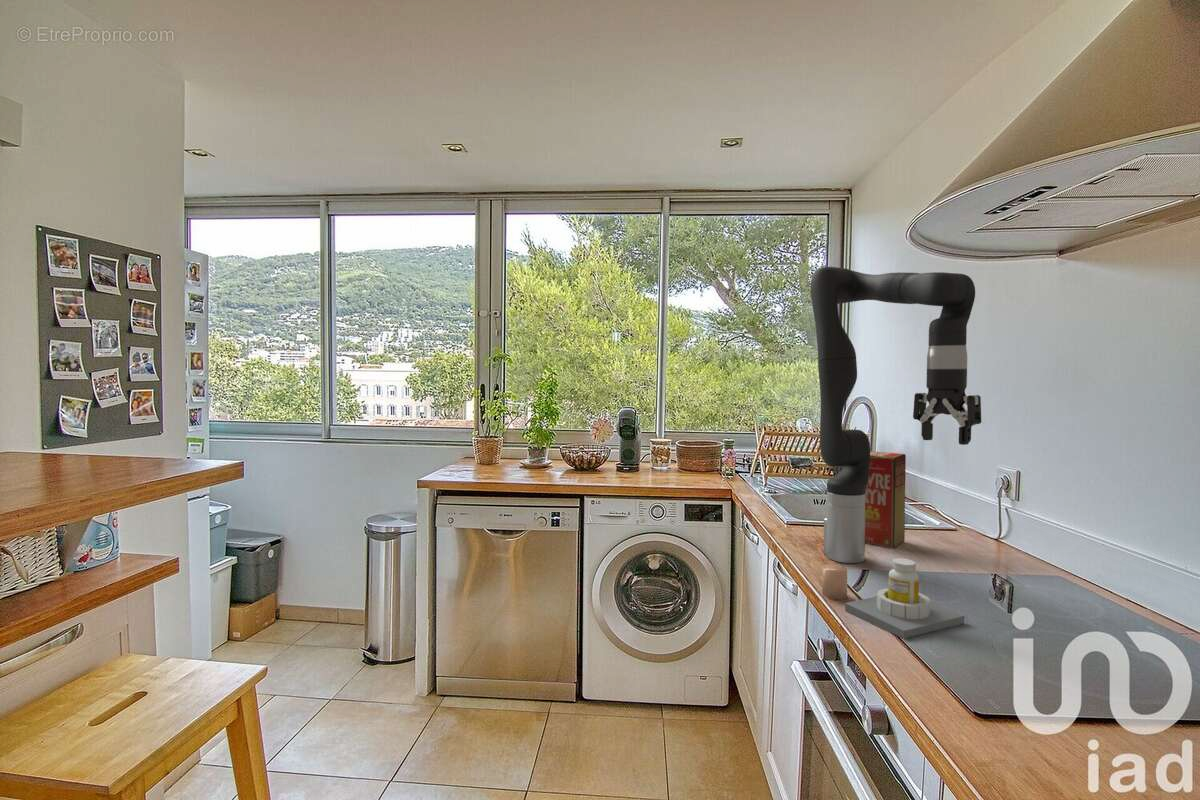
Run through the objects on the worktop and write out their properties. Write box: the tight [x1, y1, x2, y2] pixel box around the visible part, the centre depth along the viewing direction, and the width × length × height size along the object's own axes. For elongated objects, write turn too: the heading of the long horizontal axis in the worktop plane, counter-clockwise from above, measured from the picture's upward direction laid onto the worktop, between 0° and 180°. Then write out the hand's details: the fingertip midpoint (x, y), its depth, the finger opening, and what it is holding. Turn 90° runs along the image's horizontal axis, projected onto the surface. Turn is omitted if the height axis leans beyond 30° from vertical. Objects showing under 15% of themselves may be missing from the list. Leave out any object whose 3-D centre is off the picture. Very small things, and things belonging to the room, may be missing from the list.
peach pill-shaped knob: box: [821, 563, 848, 601], centre depth 129 cm, size 5×5×6 cm
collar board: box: [844, 587, 965, 639], centre depth 118 cm, size 14×16×4 cm
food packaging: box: [865, 450, 907, 549], centre depth 168 cm, size 13×9×25 cm
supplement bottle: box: [887, 557, 920, 604], centre depth 117 cm, size 5×5×10 cm
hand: (945, 442), depth 129 cm, fingers open, 8 cm apart
